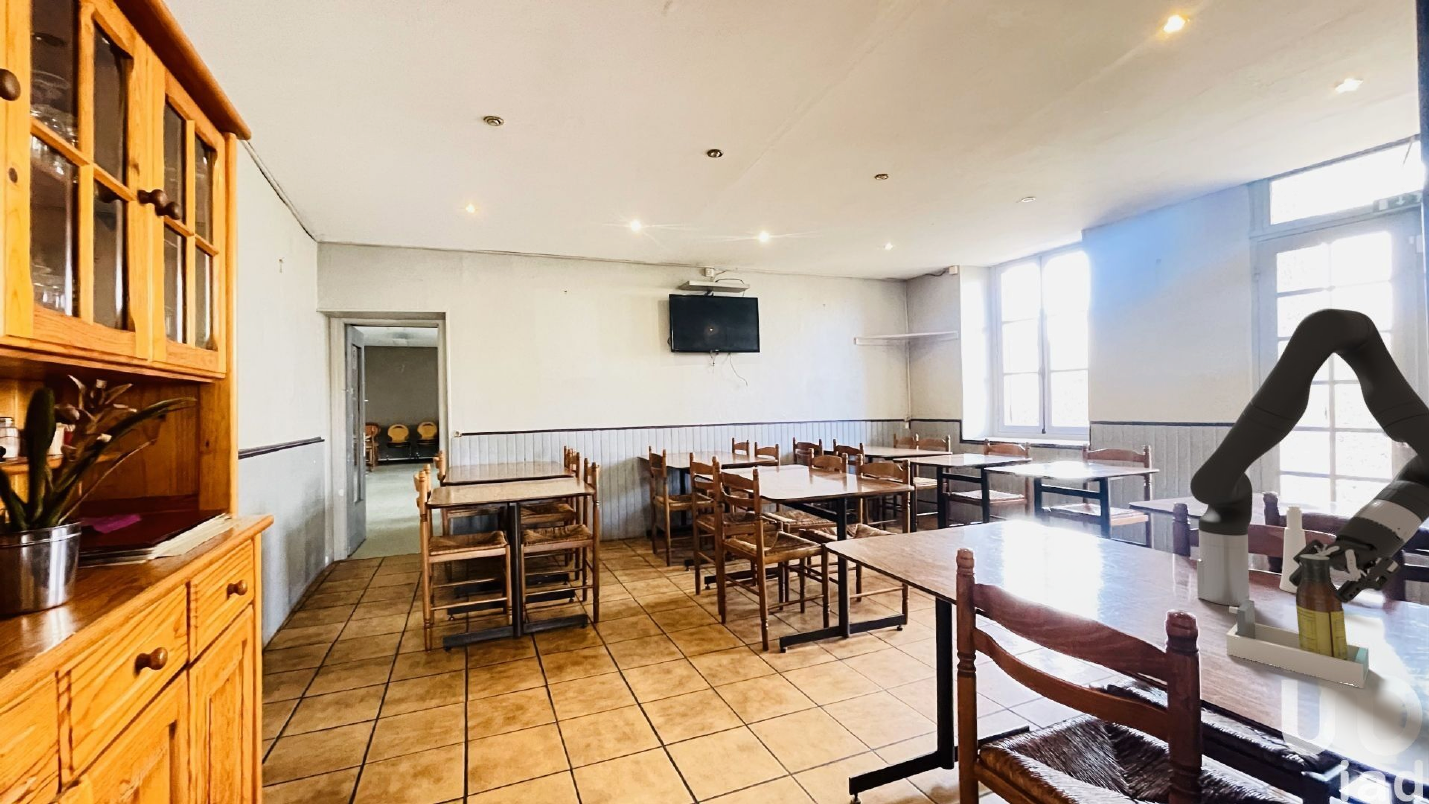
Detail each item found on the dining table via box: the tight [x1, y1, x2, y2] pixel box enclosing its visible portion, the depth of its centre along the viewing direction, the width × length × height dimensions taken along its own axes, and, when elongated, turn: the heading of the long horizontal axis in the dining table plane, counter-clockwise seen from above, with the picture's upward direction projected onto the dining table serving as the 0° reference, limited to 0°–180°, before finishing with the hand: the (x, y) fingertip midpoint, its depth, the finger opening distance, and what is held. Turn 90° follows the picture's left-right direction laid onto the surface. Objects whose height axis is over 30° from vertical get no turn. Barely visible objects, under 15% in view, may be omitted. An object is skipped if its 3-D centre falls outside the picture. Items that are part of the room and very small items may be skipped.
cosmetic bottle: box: [1279, 504, 1307, 594], centre depth 149 cm, size 6×6×22 cm
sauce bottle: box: [1295, 554, 1348, 661], centre depth 108 cm, size 6×6×20 cm
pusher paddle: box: [1228, 599, 1256, 639], centre depth 117 cm, size 3×9×8 cm, turn 128°
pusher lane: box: [1225, 622, 1370, 690], centre depth 111 cm, size 18×12×4 cm, turn 38°
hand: (1315, 591), depth 108 cm, fingers open, 8 cm apart
